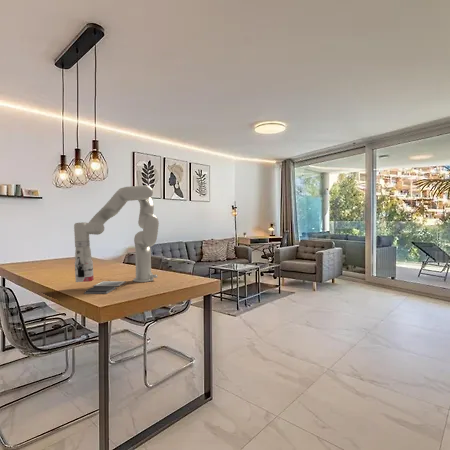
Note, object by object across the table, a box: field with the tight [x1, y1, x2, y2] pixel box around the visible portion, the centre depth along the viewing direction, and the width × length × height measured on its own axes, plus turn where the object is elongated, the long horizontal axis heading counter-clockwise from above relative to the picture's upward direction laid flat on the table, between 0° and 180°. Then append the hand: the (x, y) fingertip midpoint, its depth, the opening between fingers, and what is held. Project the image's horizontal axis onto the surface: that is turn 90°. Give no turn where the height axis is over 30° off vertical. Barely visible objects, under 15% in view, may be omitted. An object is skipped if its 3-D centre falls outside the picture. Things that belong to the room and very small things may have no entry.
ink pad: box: [84, 285, 117, 295], centre depth 164 cm, size 12×12×2 cm
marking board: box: [93, 280, 127, 287], centre depth 182 cm, size 15×13×1 cm
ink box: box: [74, 259, 95, 283], centre depth 171 cm, size 8×5×12 cm, turn 95°
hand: (83, 275), depth 171 cm, fingers closed on ink box, 5 cm apart
